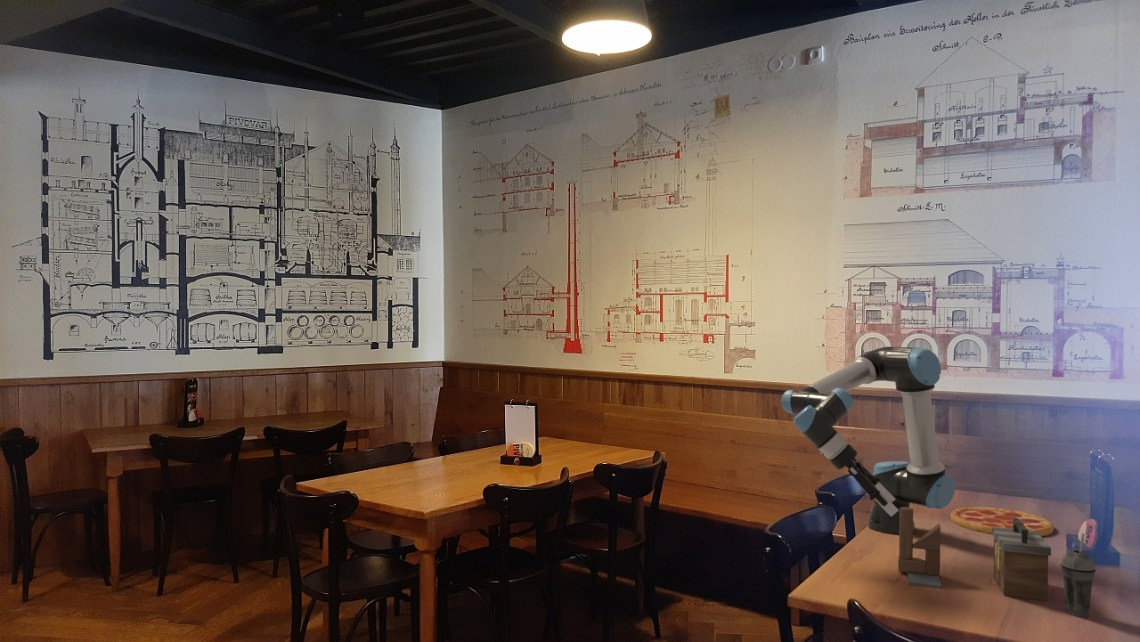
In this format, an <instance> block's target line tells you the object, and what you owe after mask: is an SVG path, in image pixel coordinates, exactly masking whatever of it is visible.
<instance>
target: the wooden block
mask: <svg viewBox="0 0 1140 642" xmlns="http://www.w3.org/2000/svg"><path fill="white" fill-rule="evenodd" d="M913 520H914V509H913V508H911V507H910V508H909V507H901V508H900V526H899V534H898V536H899V538H898V539H899V542H898V557H897V558H898V559H897V568H898V569H897V570H898V572H902V573H907V572H910V573H918V574H927V575H933V576H938V577H940V575H941V573H940V572H941V524H940V523H937V524H936V525H935V526H934V527H932V528H931V529H930V530H929V531H928V532H926V533H925V534H924V535H922V536H921V537H920V538H919V539H918V540H916V541H915V542H914V532H913ZM914 549H916V550H917V549H918V550H925V552H924V553H925V554H924V555H925V557H924V558H925V559H923V558H919V557H913V555H914V554H913V552H914V551H913V550H914Z"/></svg>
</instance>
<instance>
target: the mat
mask: <svg viewBox="0 0 1140 642" xmlns="http://www.w3.org/2000/svg"><path fill="white" fill-rule="evenodd" d="M906 575H907V579H908V584H909V585H911V586H912V585H913V586H920V587H926V588H938V589H942V587H943V586H942V583H941V580H940V576H933V575H927V574H918V573H910V572H906Z"/></svg>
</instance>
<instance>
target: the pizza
mask: <svg viewBox="0 0 1140 642" xmlns="http://www.w3.org/2000/svg"><path fill="white" fill-rule="evenodd" d="M1013 518H1018V519H1019V520H1020V521H1021V522H1022V523H1023V524H1024V526H1025V527H1026V528H1027V529H1028V530H1031V531H1037V532H1038V534H1039V535H1040V536H1041V537H1042V538H1043V537H1046V536H1049V535H1051V534H1053V532H1054V528H1055V526H1054V525H1053V523H1052V522H1050V521H1049V520H1048V519H1046V518H1044V517H1042V516H1038V515H1036V514H1032V513H1029V512H1025V511H1024V512H1023V511H1018V510H1013V509H1007V508H998V507H988V506H987V507H986V506H969V507H960V508H956V509H954V510H952V511H951V513H950V519H951V521H952V522H953V523H954V524H956V525H957V526H960V527H962V528H966V529H968V530H971V531H974V532H980V533H983V534H988V535H992V527H999V528H1010V529H1013Z"/></svg>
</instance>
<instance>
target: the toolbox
mask: <svg viewBox="0 0 1140 642" xmlns="http://www.w3.org/2000/svg"><path fill="white" fill-rule="evenodd" d="M991 535H992V537H993V578H994V580H995V582H996V583H997V584H996V585H998V587H999V589H1000V592H1001V593H1002V594H1003V596H1004V597H1010V598H1011V597H1012V598H1019V599H1027V600H1037V601H1047V602H1048V600H1049V599H1048V594H1049V591H1048V590H1049V583H1048V582H1049V556H1052V548H1051V546H1050V545H1049V544H1048V542H1047V541H1045V539H1044V538H1043V536H1042V537H1041V536H1040V535H1039V534H1038V532H1037V531H1031V530H1028V529H1027V528H1026V527H1025V526H1024V524H1023V523H1022V522H1021V521H1020V520H1019V519H1018V518H1013V529H1010V528H999V527H992V534H991Z"/></svg>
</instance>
